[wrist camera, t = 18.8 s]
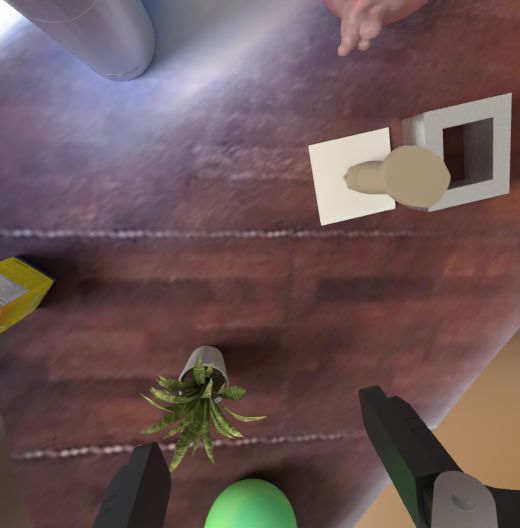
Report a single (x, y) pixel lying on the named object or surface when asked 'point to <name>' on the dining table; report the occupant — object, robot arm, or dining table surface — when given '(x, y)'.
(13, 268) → the supplement box
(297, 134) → the dining table surface
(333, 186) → the mat
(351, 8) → the balloon
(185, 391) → the house plant
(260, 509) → the toy bird
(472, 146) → the collar
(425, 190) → the handle
